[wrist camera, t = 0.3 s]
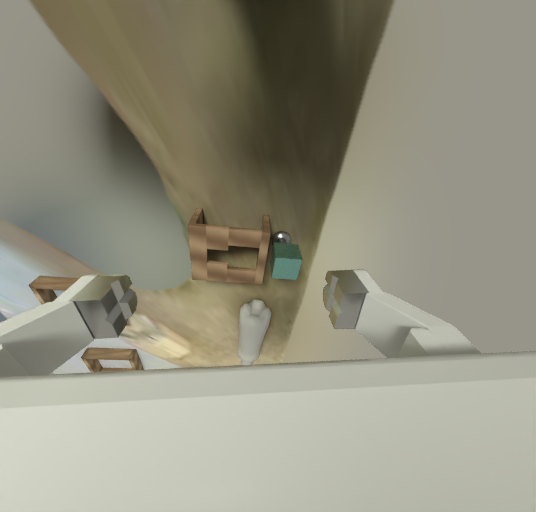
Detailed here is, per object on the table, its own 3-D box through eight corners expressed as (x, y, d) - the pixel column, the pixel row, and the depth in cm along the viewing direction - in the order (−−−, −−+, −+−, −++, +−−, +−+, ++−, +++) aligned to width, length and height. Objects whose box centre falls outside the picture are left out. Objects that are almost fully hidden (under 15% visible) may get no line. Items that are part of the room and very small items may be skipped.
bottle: (234, 304, 63) (229, 357, 81) (251, 328, 57) (242, 379, 75) (260, 292, 68) (250, 345, 86) (278, 313, 62) (264, 364, 80)
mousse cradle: (87, 347, 77) (80, 357, 74) (135, 349, 79) (131, 358, 76) (100, 369, 86) (95, 378, 83) (143, 370, 88) (140, 379, 85)
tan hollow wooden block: (196, 207, 48) (187, 225, 42) (268, 215, 50) (270, 233, 44) (199, 258, 56) (192, 279, 50) (261, 263, 58) (261, 284, 52)
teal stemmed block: (272, 228, 52) (275, 257, 43) (294, 231, 53) (302, 259, 44) (268, 247, 55) (271, 278, 46) (289, 249, 56) (296, 279, 47)
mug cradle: (39, 275, 57) (28, 285, 54) (113, 280, 59) (106, 290, 57) (64, 315, 67) (55, 325, 64) (127, 318, 69) (122, 327, 66)
